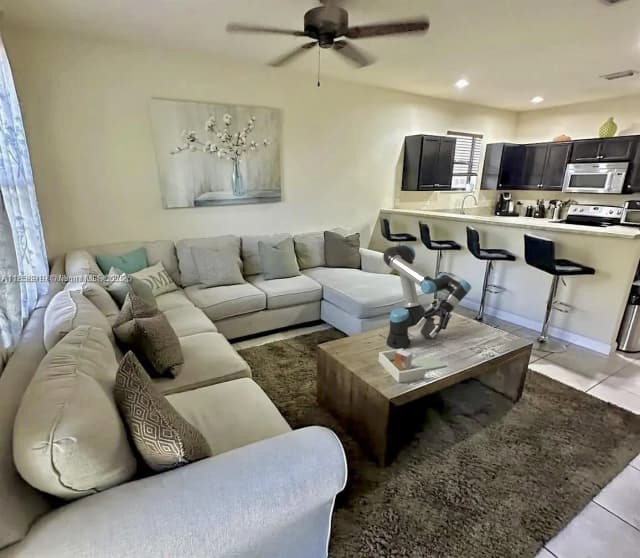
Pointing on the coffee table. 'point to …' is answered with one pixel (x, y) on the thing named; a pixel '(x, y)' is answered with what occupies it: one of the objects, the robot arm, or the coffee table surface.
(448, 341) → the coffee table surface
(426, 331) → the coffee pot
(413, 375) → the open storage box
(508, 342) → the coffee table surface
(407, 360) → the small box
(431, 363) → the sage pad
